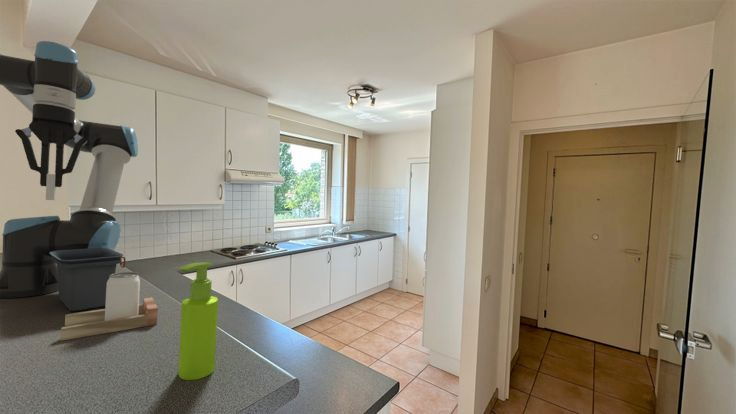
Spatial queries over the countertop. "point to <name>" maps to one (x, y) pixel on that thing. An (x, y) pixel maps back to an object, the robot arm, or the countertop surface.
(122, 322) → the guide lane
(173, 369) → the countertop surface
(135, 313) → the can
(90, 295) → the storage bin
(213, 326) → the soap dispenser
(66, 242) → the robot arm
